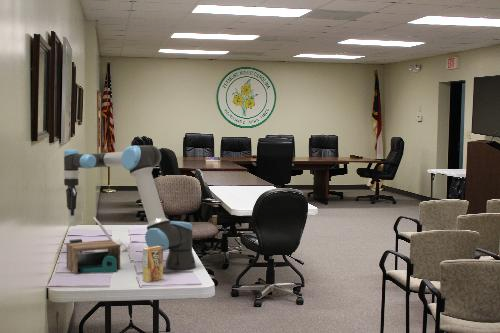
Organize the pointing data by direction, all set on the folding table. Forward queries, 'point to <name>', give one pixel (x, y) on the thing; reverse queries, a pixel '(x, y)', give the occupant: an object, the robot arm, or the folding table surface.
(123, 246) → the tablet stand
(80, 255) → the dark grey block
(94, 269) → the bracket
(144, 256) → the candy box
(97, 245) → the tunnel
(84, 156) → the robot arm
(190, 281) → the folding table surface
